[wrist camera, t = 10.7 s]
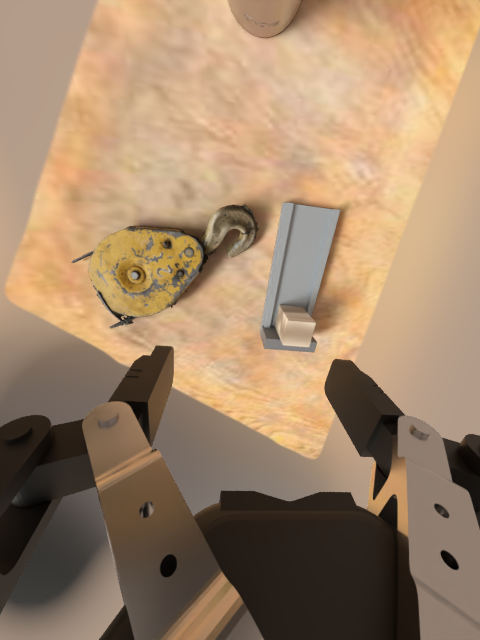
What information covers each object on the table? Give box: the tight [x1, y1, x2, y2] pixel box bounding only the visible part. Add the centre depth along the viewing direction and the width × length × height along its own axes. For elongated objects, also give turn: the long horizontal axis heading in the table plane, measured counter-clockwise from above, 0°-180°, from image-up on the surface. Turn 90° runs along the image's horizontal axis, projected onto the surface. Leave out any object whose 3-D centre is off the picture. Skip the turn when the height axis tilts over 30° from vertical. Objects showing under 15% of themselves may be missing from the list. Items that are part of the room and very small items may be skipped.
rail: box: [260, 202, 340, 352], centre depth 37 cm, size 23×9×6 cm, turn 173°
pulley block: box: [71, 203, 258, 328], centre depth 36 cm, size 14×6×30 cm
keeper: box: [275, 305, 316, 347], centre depth 39 cm, size 4×4×7 cm
